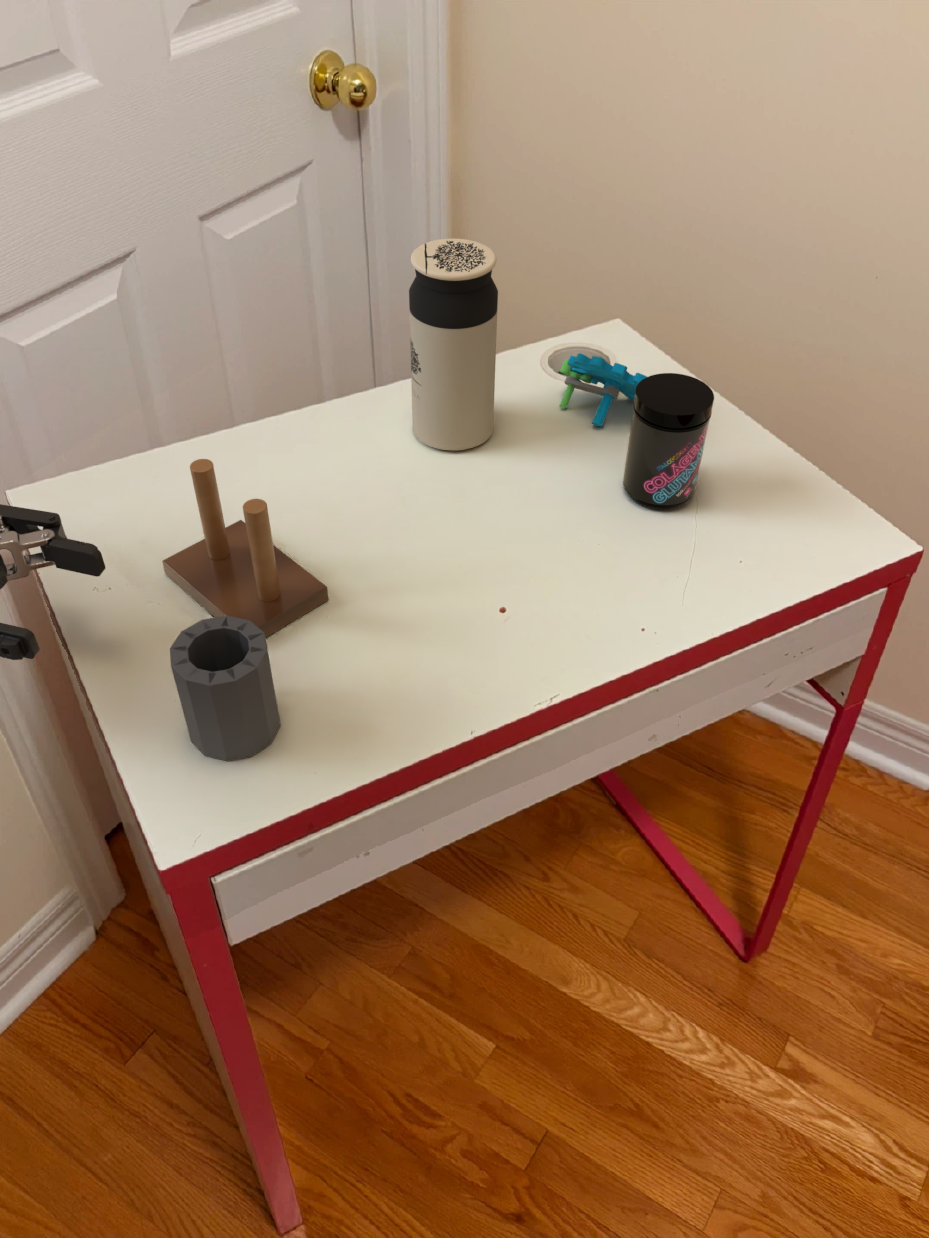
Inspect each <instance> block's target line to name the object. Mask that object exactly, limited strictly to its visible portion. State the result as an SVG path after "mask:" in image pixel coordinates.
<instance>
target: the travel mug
mask: <svg viewBox="0 0 929 1238" xmlns="http://www.w3.org/2000/svg"><path fill="white" fill-rule="evenodd" d="M410 256H411V257H410V263H411V265H412V267H413V268H414V273H415V277H414V279H413V281H412V283H411V284H410V286H409V289H408V305H409V345H410V377H411V379H410V382H411V417H412V418H411V419H412V420H411V421H412V432H413V434H414V436H415V438H417V440H419V441H420V442H421V443H423V444H424V445H426V446H427V447H428V446H429V447H431V448H434V449H437V450H443V451H464V450H470V449H472V448H475V447H479V446H480V445H482V444H483V443H486V441H488V440H489V438H491V436H492V434H493V432H494V415H495V388H496V387H495V386H496V363H497V362H496V361H497V359H496V358H497V334H498V333H497V331H498V305H499V304H498V303H499V290H498V287H497V285H496V283H495V281H494V279H493V277H492V273H493V269H494V268H495V267H496V264H497V256H496V253H495V252H494V251H493V249H491V248H490V247H489V246H488V245H485V244H483V243H482V242H478V241H475V240H471V239H465V238H464V239H463V238H440V239H435V240H431V241H428V242H425V243H423V244H421V245H419V246H418V247H416V248H415V249H414V250H413V252H412V253H411V255H410Z"/></svg>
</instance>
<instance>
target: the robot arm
mask: <svg viewBox="0 0 929 1238" xmlns="http://www.w3.org/2000/svg"><path fill="white" fill-rule="evenodd" d="M40 527H42V529H40ZM35 548H40V551H41V552H37V553H33V554H28V553H26V551H25V550H31V549H35ZM1 550H7V551H9V552H10V553H11V556H12V558H13V561H14V562H13V563H12V562H11V563H9V564H6V563H5V560H4V558H3V556H2V554H1V553H0V590H1V589H3V588H4V587H5V586H6V585H7V583H8V582H9V581H14V580H19V579H23V578H26V577H28V576H30V574H31V572H32V571H33V570H39V569H43V568H47V567H48V568H49V567H51V566H55V568H56V569H60V570H64V571H69V572H73V573H78V574H83V575H87V576H92V577H96V578H97V577H100V576H101V575H102V574H103V573H104V571H105V570H106V564H105V561H104V558H103V555H102V552H101V551H100V549H99V548H98V546H96V545H95V544H94V543H89V542H85V541H80V540H76V539H72V538H68V537H67V535H66V532H65V529H64V527H63V523H62V519H61V516H60V514H59V513H57V512H52V511H46V510H38V509H33V508H28V507H27V508H26V507H20V506H14V505H9V504H8V505H7V504H1V503H0V551H1ZM40 650H41V648H40V646H39V643H38V640H37V638H36V634H34V632H33V631H32V630H31V629H29V628H25V627H21V626H17V625H12V624H9V623H3V622H0V658H4V659H7V660H11V661H20V660H23V659H24V658H25V659H28V660H33V659H35V657H36V656H37V655H38V653H39V652H40Z"/></svg>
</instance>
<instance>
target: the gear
mask: <svg viewBox="0 0 929 1238" xmlns="http://www.w3.org/2000/svg"><path fill="white" fill-rule="evenodd" d="M627 370H628V367H627V366H626V365H624V364H621V363H618V362H614V364H613V365H612V364H610V363H609V362H608V361H607V360H605V358H604V357H601V356H596V355H592V356H591V358H590V357H589V356H588V355H585V354H583V353H581V352H579V353H577V354H576V356H575V355H570V356H569V359H568V358H564V360H563V362H562V365H561V367H560V369H559V373H561V374H563V375H566V378H565V379H564V384H565V385H566V386H567V387H566V389H565V392H564V394H563V396H562V399H561V401H560V404H559V407H560V408H562V409H565V410H566V409H567V407H568V405H569V402H570V401H571V398H572V395H573V393H574V392H575V391H574V390H580V391H583V392H587V393H590V394H593V395H598V396H601V397H602V398H601V399H600V402H599V405H598V407H597V410H596V412H595V414H594V417H593V419H592V422H591V424H592V425H593V426H596V427H599V428H601V427H603V424H604V422H605V419H606V417H607V415H608V412H609V410H610V407H611V405H612V403H613V400H617V398H618V397H619V394H620V393H621V394H622V395H624V396H625V397H626V398H628V399H630V400H633V401H634V398H635V391H636V387H637V385H638V383H639V382H640V381H641V380H643V379H644V378H646V377H648V376H647V375H646V374H645V375H644V374H643V373H640V372H635V375H633V374H631V373H630V372H629V371H627ZM598 383H601V385H603V387H601V386H597V385H598Z"/></svg>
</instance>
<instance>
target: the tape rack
mask: <svg viewBox="0 0 929 1238" xmlns="http://www.w3.org/2000/svg"><path fill="white" fill-rule="evenodd" d="M189 470H190V476H191V480H192V484H193V489H194V494H195V499H196V504H197V509H198V512H199V518H200V523H201V527H202V533H203V537H204V538H203V539H201V540H199V541H196V542H195V543H193V544H192V545H189V546H187V547H185V548H184V549H181V550H180V551H178V552H175V553H174V554H172V555H170V556H168V557H167V558H165V559H163V560H162V561H161V562H162V566H163V571H164V575H166V576H167V577H168V578H170V579H171V580H172V581H173V582H174V583H175V584H176V585H177V586H179V588H181V589H182V590H183V591H184V592H185V593H186V594H187V595H189V596H190V597H191V598H192V599H193V600H194V601H195V602H197V603H198V604H199V605H200V606H201V607H202V608H204V609H205V610H206V611H207V612H208V613H209V614H210V615H212V617H213V618H216V617H222V616H232V617H236V618H241V619H246V620H250V621H251V622H252V623H254V624H255V625H256V626H257V627H258V628H259V629H261V630H262V631H263V632H264V633H265V637H266V638H268V637H269V636H271V635H273V634H274V633H276V632H278V631H279V630H281V629H283V628H284V627H286V626H288V625H289V624H291V623H292V622H293V623H294V621H296V620H298V619H299V618H301V617H303V616H305V615H306V614H308V613H309V612H311V611H313V610H315V609H316V608H318V607H320V606H321V605H323V604H325V603H326V602H328V601H329V589H328V586H327V585H326V584H324V583H323V582H322V581H321V580H319V579H318V578H316V577H315V576H314V575H313V574H312V573H310V572H309V571H307V570H306V569H305V568H304V567H302V566H301V565H300V564H298V563H297V562H296V561H294V559H292V558H291V557H290V556H288V555H287V554H286V553H284V552H283V551H282V550H281V549H279V548H278V547H277V546H275V545H274V541H273V535H272V527H271V522H270V515H269V508H268V503H267V502H266V500H264V499H262V498H252V499H249V500H247V501H245V502H243V505H242V512H243V517H244V520H242V519H240V520H237V521H235V522H234V523H232V524H230V525H228V526H226V524H225V519H224V513H223V508H222V502H221V497H220V492H219V487H218V486H219V485H218V483H217V482H218V481H217V476H216V470H215V466H214V462H213V461H212V460H211V459H207V458H198V459H195V460H193V461H192V462H191V463H190V465H189Z"/></svg>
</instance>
